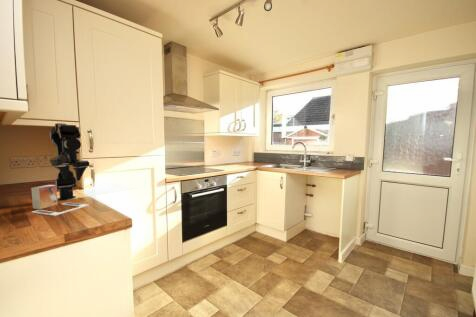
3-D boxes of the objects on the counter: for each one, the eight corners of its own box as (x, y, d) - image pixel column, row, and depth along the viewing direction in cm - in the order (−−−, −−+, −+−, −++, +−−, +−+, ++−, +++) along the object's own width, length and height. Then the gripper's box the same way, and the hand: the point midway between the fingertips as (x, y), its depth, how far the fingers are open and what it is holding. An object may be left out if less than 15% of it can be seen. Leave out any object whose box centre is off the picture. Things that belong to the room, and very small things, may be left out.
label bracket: (31, 212, 102) (31, 211, 102) (67, 202, 117) (67, 202, 117) (54, 215, 97) (54, 214, 97) (88, 205, 113) (88, 204, 112)
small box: (40, 209, 106) (38, 188, 105) (32, 208, 108) (30, 187, 107) (58, 204, 114) (56, 185, 113) (50, 204, 116) (49, 184, 115)
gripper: (38, 150, 106) (41, 182, 108) (66, 150, 101) (68, 184, 102) (63, 149, 117) (65, 178, 118) (89, 149, 111) (91, 180, 113)
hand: (71, 180), depth 112 cm, fingers open, 9 cm apart
